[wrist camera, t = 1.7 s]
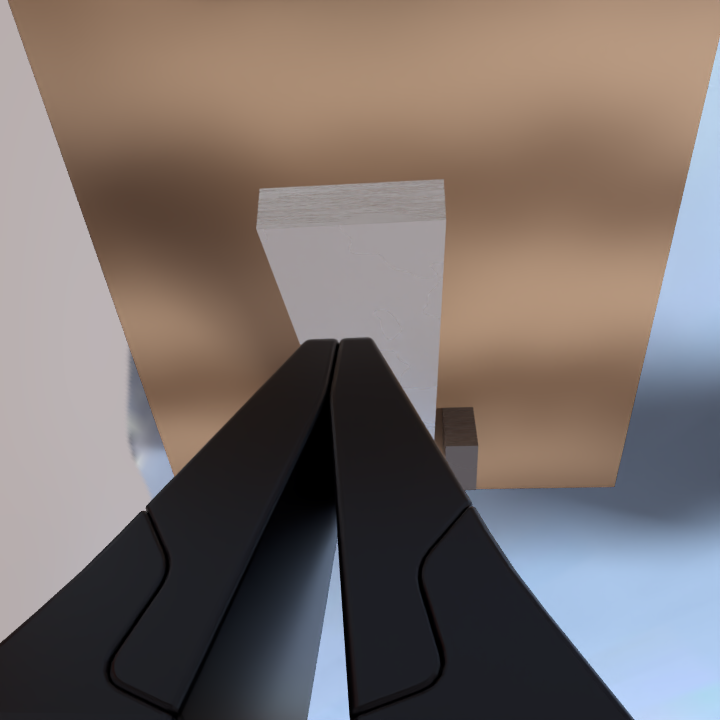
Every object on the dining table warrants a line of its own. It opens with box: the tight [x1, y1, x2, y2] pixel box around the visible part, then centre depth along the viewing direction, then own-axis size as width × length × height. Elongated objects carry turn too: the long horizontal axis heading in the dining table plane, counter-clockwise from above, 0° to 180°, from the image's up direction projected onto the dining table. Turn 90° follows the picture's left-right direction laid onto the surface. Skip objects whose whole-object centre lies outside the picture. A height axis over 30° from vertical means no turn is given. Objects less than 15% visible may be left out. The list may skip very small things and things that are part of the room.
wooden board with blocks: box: [8, 0, 720, 489], centre depth 19 cm, size 22×16×3 cm
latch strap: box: [256, 179, 446, 439], centre depth 17 cm, size 14×3×1 cm, turn 5°
